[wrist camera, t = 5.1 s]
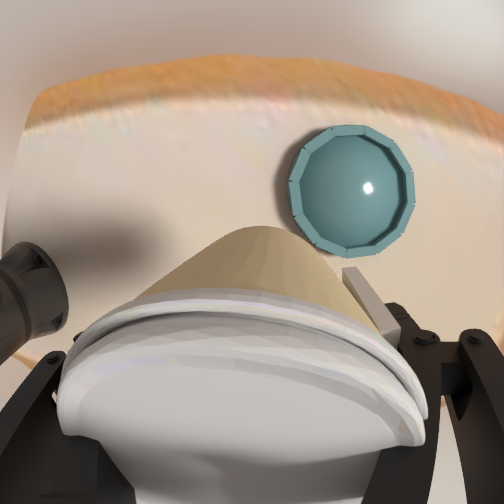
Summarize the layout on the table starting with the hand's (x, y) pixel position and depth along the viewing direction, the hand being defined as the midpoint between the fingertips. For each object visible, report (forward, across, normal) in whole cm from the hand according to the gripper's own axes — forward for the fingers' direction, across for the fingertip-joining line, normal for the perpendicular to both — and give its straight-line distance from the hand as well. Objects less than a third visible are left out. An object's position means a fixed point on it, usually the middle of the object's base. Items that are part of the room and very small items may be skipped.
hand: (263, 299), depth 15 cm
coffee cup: (+1, 0, 0) cm, 1 cm away
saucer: (+16, +9, +4) cm, 19 cm away
